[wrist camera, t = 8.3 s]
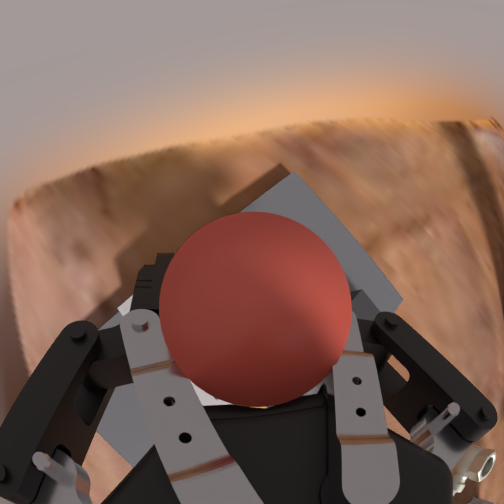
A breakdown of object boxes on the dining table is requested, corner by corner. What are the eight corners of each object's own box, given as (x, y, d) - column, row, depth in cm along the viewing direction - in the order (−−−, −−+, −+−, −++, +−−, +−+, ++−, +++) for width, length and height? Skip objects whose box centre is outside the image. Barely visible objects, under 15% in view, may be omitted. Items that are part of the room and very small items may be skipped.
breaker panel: (288, 179, 24) (305, 154, 20) (392, 301, 23) (422, 295, 19) (58, 371, 16) (33, 378, 12) (189, 500, 15) (190, 528, 11)
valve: (443, 435, 21) (387, 522, 17) (487, 445, 15) (422, 545, 11) (466, 443, 21) (417, 522, 17) (504, 451, 15) (450, 540, 11)
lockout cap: (222, 263, 17) (266, 178, 7) (274, 322, 16) (381, 310, 7) (161, 315, 15) (117, 295, 6) (216, 376, 15) (257, 443, 5)
